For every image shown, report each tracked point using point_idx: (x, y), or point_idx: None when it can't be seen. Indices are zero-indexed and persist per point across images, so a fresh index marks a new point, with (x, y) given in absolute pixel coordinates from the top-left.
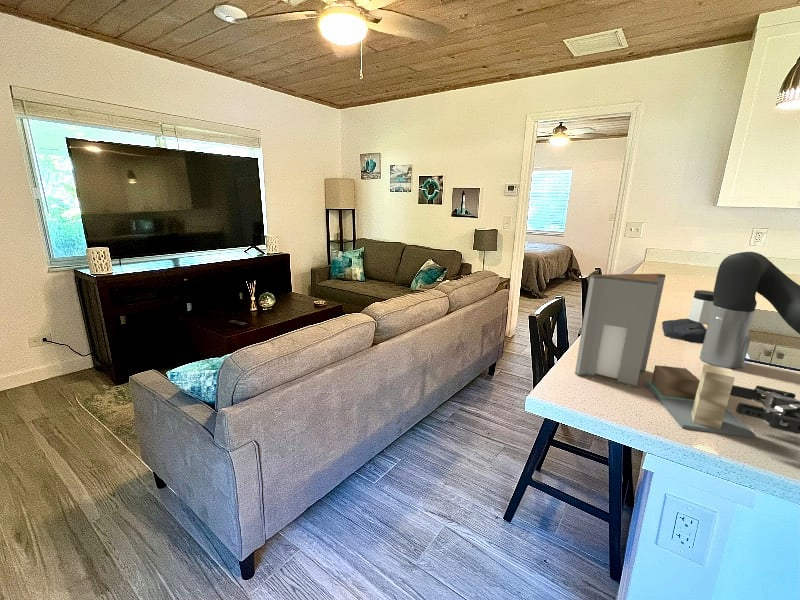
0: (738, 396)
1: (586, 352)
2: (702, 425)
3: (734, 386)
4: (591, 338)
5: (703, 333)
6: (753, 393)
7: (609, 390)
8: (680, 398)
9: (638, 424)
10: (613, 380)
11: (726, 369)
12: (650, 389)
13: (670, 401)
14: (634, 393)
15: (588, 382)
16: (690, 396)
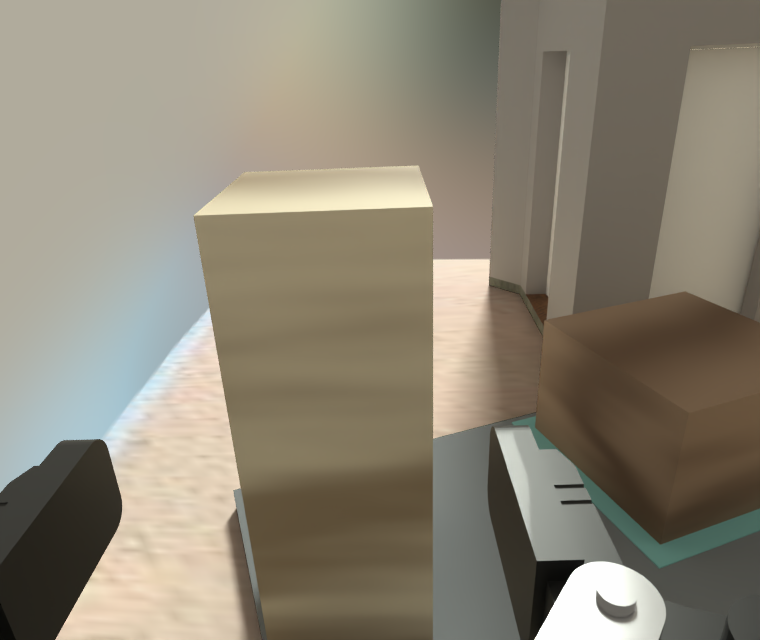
0: (501, 552)
1: (508, 191)
2: None
3: (501, 433)
4: (522, 128)
5: None
6: (549, 600)
7: (447, 333)
8: (587, 481)
9: (198, 400)
10: (541, 325)
11: (393, 198)
12: None
13: None
14: (495, 377)
15: (462, 300)
16: (633, 499)
